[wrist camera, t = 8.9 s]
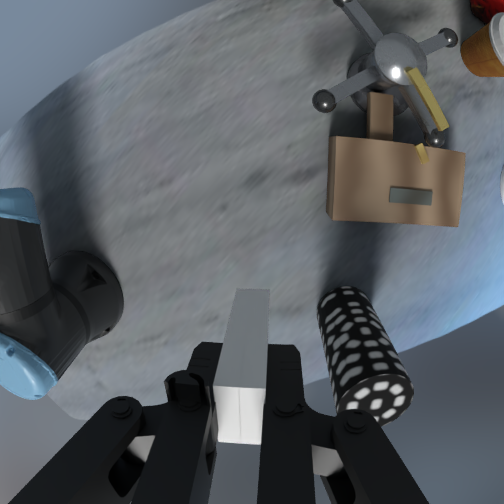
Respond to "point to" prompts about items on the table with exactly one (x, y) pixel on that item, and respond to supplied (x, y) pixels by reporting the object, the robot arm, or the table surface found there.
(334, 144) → the walnut stand
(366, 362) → the spotted tube
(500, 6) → the red clay folk toy
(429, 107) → the capstan
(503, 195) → the decorative container
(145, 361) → the table surface
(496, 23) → the disposable coffee cup
